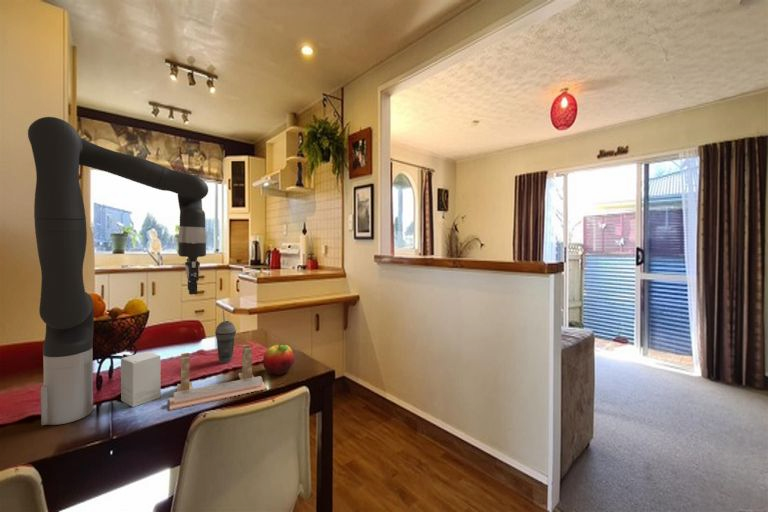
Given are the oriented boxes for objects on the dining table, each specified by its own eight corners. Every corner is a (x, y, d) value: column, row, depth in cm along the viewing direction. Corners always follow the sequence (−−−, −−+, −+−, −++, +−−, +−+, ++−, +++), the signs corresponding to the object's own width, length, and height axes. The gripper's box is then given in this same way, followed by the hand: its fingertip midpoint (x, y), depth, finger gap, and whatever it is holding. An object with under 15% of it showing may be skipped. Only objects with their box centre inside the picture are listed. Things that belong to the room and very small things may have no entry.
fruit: (285, 363, 126) (285, 338, 126) (299, 372, 119) (300, 345, 118) (257, 370, 119) (258, 343, 118) (271, 380, 111) (271, 351, 110)
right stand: (242, 383, 108) (242, 350, 107) (238, 376, 113) (239, 345, 113) (254, 381, 110) (255, 348, 110) (251, 374, 116) (251, 343, 115)
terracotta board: (169, 410, 90) (169, 408, 90) (169, 399, 96) (169, 398, 96) (267, 389, 104) (267, 388, 104) (262, 381, 110) (262, 379, 110)
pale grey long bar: (173, 404, 93) (173, 396, 92) (173, 400, 95) (173, 392, 94) (262, 386, 106) (262, 378, 106) (260, 383, 108) (260, 375, 108)
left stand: (177, 396, 98) (177, 360, 98) (177, 387, 103) (177, 353, 103) (193, 393, 100) (193, 357, 100) (191, 385, 106) (192, 351, 105)
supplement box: (161, 397, 97) (161, 355, 97) (132, 408, 91) (132, 363, 90) (149, 390, 101) (149, 350, 100) (120, 400, 95) (119, 357, 94)
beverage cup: (227, 365, 122) (228, 312, 121) (210, 363, 123) (210, 311, 122) (239, 359, 129) (240, 308, 128) (223, 357, 131) (224, 307, 130)
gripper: (178, 240, 108) (177, 289, 109) (179, 241, 96) (179, 296, 97) (204, 241, 112) (203, 288, 113) (208, 242, 100) (207, 295, 101)
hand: (192, 292), depth 105 cm, fingers open, 8 cm apart
